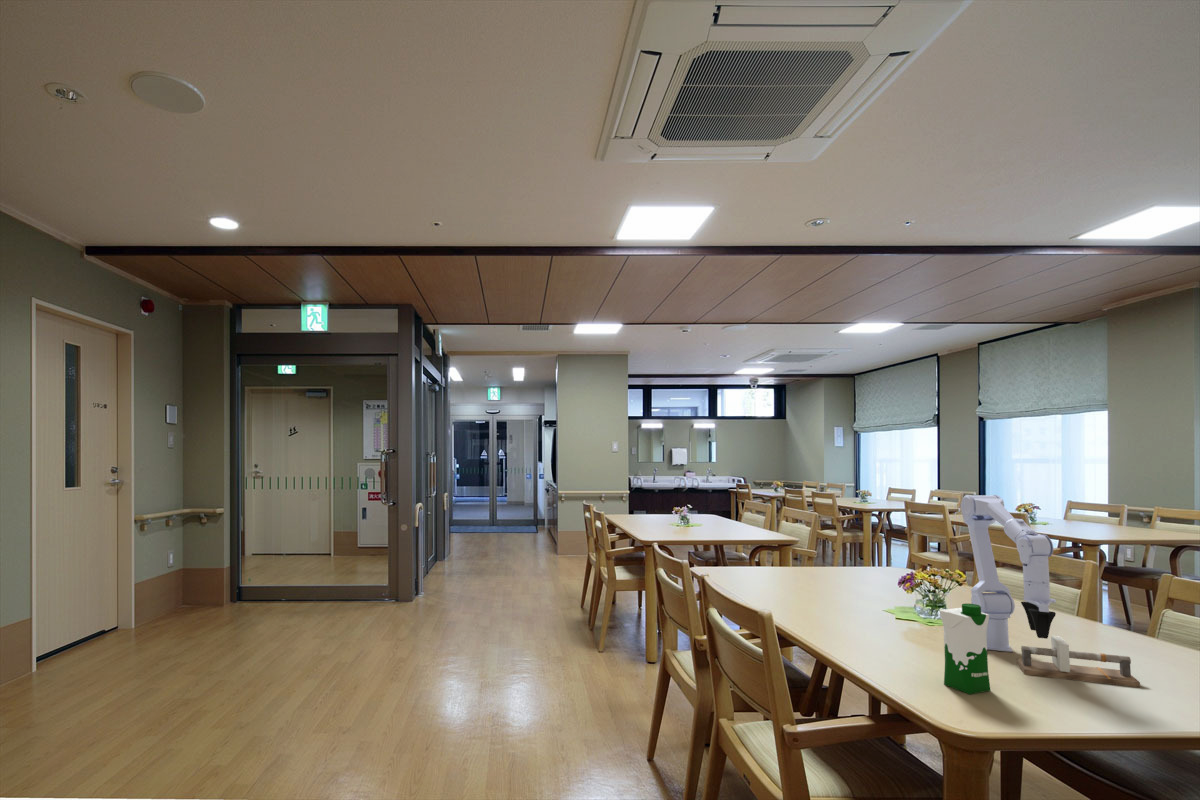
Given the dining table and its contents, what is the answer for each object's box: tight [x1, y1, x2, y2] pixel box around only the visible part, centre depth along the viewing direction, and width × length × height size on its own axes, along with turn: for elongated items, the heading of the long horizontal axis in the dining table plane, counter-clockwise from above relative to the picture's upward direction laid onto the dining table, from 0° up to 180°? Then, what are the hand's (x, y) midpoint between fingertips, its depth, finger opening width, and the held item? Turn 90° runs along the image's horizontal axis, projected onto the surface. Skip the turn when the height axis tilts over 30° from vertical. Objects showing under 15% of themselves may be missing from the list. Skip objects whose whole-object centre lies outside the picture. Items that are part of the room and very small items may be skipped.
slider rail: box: [1016, 645, 1141, 688], centre depth 166 cm, size 24×9×6 cm, turn 67°
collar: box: [1050, 635, 1071, 672], centre depth 168 cm, size 2×8×7 cm, turn 158°
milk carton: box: [939, 603, 991, 695], centre depth 158 cm, size 9×9×20 cm
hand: (1038, 634), depth 170 cm, fingers open, 7 cm apart
